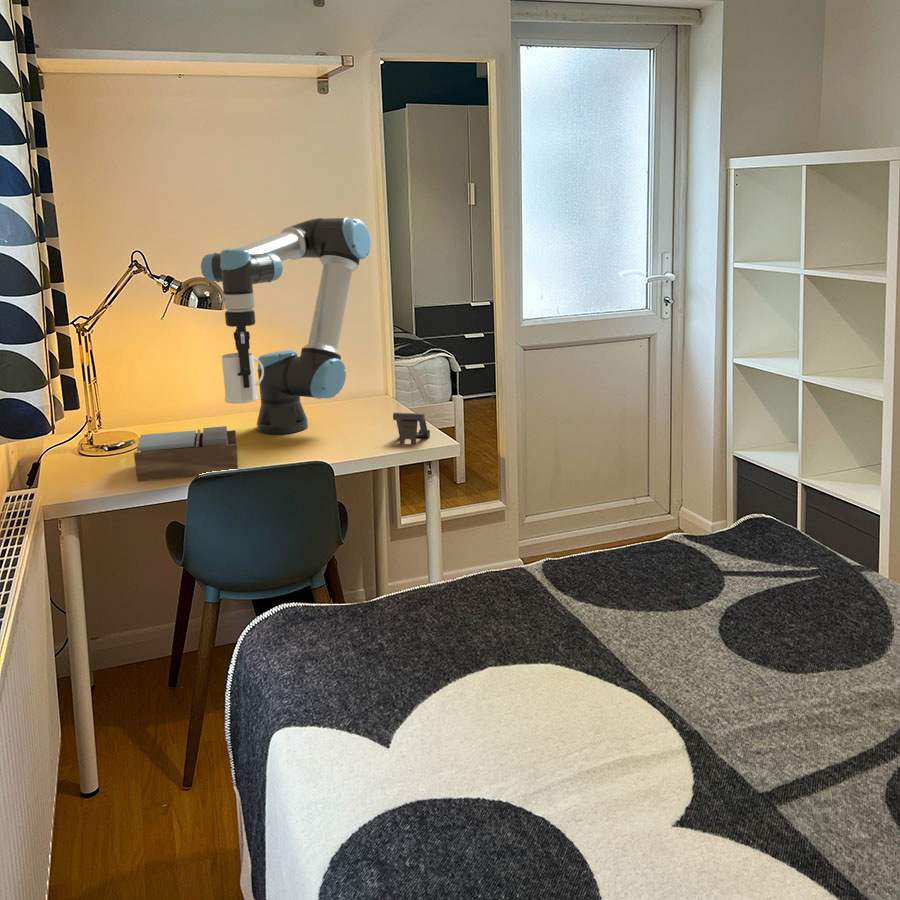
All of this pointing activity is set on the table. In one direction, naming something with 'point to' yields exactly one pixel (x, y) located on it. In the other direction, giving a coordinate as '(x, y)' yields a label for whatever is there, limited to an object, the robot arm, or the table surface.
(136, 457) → the brown wooden box
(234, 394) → the mug
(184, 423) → the table surface
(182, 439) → the trapdoor
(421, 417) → the portable electronic device stand
